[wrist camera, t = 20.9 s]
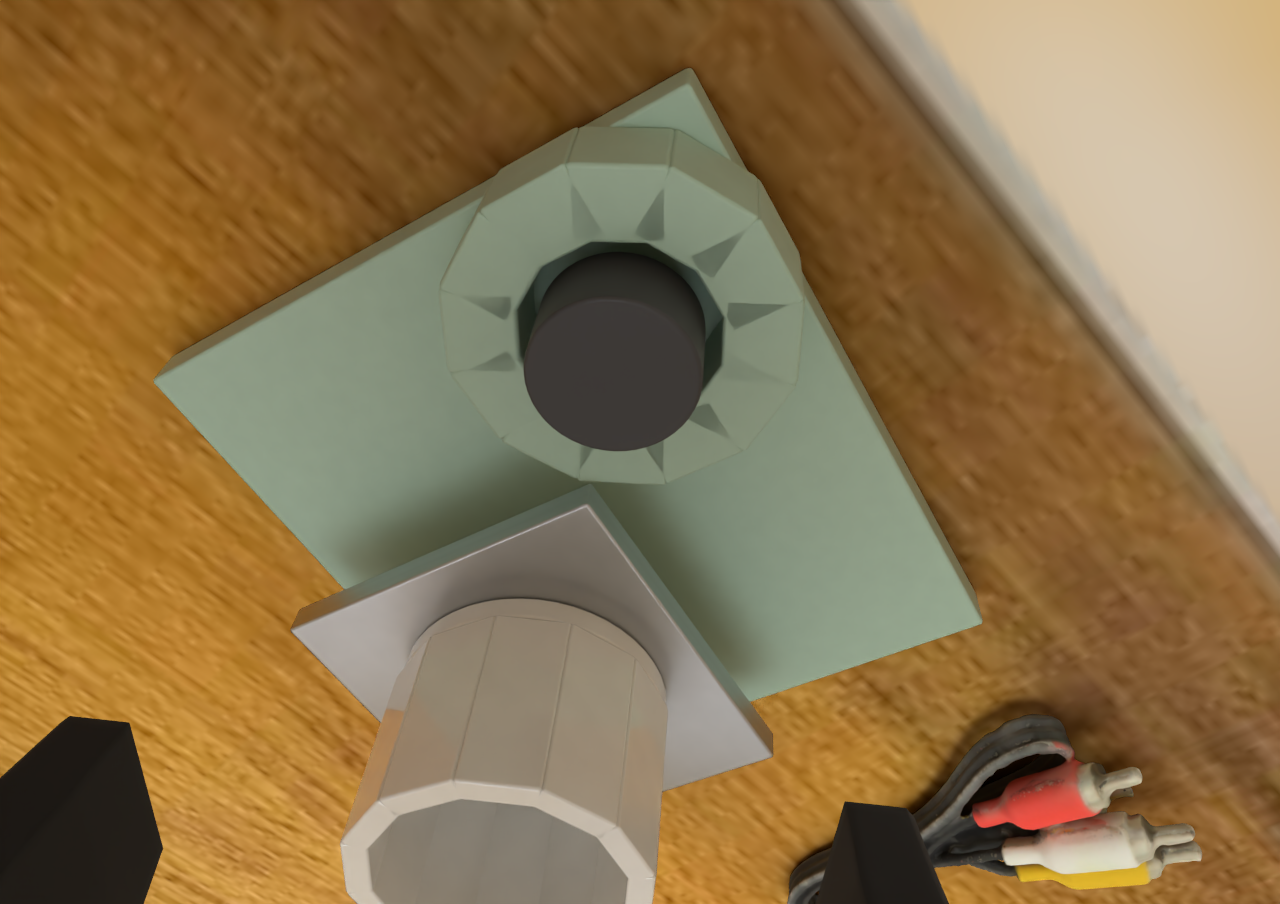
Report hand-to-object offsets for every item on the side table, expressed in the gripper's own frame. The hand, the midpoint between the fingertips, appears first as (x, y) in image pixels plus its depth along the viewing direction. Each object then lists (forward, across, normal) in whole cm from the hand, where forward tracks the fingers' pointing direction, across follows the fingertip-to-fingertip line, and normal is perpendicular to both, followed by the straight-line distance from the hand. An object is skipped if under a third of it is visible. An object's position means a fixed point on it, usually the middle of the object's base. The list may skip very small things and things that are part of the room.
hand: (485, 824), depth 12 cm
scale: (+10, 0, +3) cm, 11 cm away
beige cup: (+7, 0, +6) cm, 9 cm away
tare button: (+8, -1, -1) cm, 8 cm away
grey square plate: (+8, 0, +6) cm, 10 cm away
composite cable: (+10, -9, +12) cm, 18 cm away
